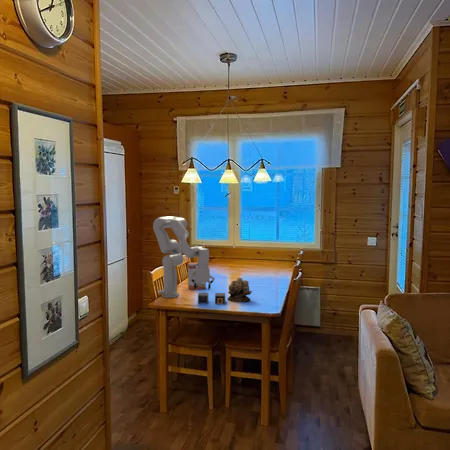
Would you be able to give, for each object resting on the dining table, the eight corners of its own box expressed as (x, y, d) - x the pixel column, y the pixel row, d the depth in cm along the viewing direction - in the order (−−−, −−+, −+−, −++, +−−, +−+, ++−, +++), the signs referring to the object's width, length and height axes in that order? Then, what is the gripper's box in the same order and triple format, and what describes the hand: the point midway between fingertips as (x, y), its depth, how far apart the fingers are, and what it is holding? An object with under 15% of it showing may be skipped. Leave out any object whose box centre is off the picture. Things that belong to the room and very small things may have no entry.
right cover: (215, 303, 289) (215, 295, 288) (215, 301, 296) (215, 292, 295) (224, 304, 289) (225, 295, 288) (225, 301, 296) (225, 293, 295)
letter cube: (217, 303, 290) (217, 298, 289) (217, 302, 294) (217, 296, 293) (222, 303, 289) (222, 298, 289) (223, 302, 294) (223, 296, 293)
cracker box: (188, 289, 327) (188, 263, 325) (187, 287, 333) (187, 262, 331) (206, 288, 330) (206, 263, 328) (205, 287, 336) (205, 261, 334)
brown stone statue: (253, 299, 302) (253, 276, 300) (250, 303, 291) (250, 280, 289) (229, 297, 307) (229, 274, 305) (225, 301, 296) (225, 278, 294)
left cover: (197, 303, 289) (197, 295, 288) (198, 300, 296) (198, 292, 295) (207, 303, 289) (207, 295, 288) (208, 301, 296) (208, 292, 295)
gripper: (190, 266, 286) (189, 289, 288) (215, 267, 286) (213, 291, 288) (191, 263, 294) (190, 286, 296) (215, 265, 293) (214, 288, 296)
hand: (202, 289), depth 292 cm, fingers open, 9 cm apart
